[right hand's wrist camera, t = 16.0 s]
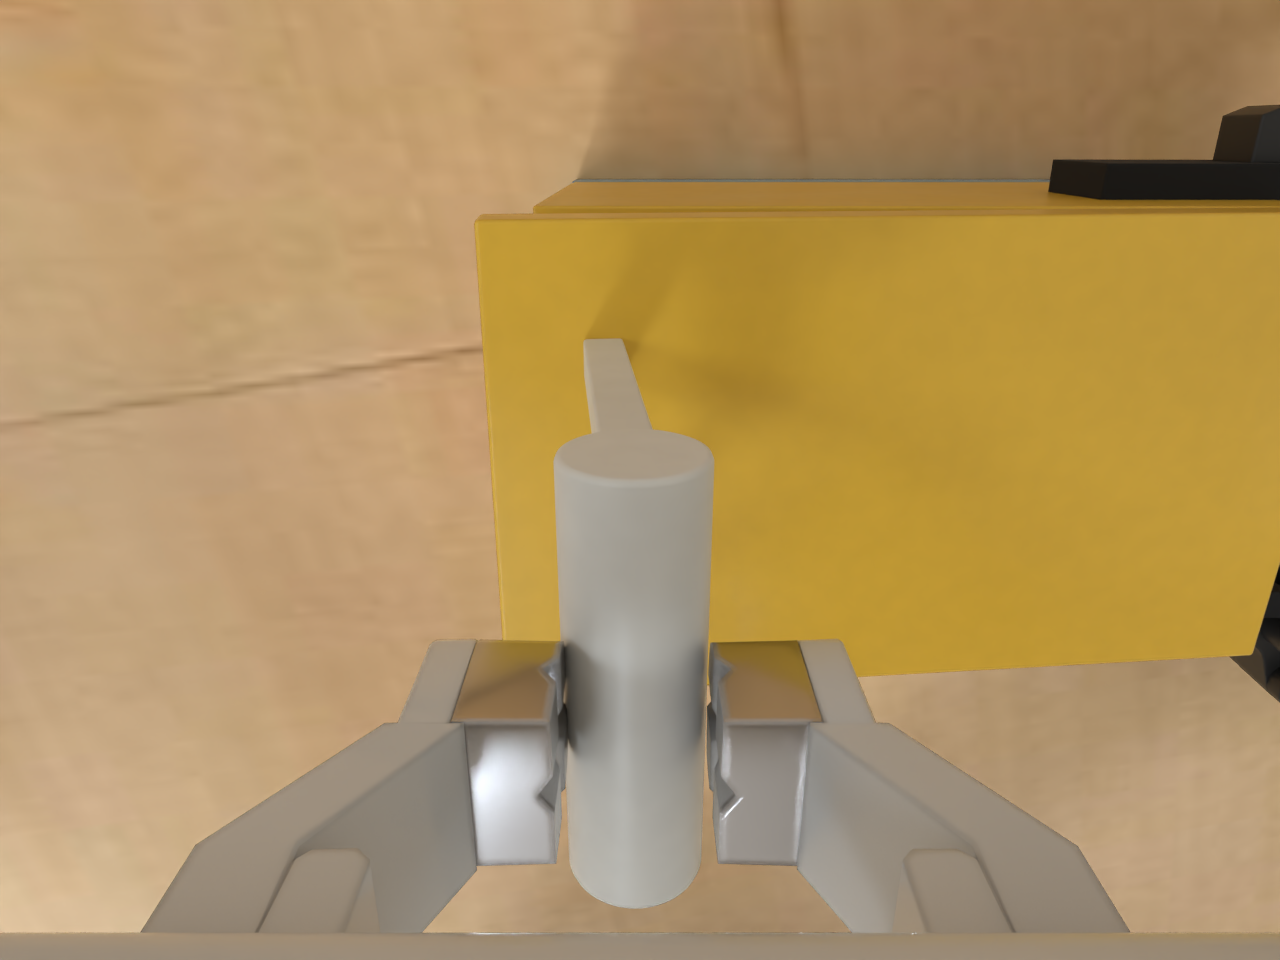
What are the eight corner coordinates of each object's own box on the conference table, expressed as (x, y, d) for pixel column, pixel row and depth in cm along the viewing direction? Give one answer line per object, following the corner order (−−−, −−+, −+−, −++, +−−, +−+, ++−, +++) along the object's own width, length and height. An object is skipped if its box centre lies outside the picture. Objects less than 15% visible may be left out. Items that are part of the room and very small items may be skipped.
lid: (508, 666, 19) (478, 1032, 11) (479, 214, 15) (405, 293, 8) (1217, 629, 20) (1623, 932, 13) (1336, 206, 17) (1995, 268, 9)
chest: (583, 468, 30) (550, 623, 21) (576, 179, 27) (532, 205, 17) (1039, 470, 30) (1219, 628, 20) (1092, 179, 26) (1338, 205, 17)
